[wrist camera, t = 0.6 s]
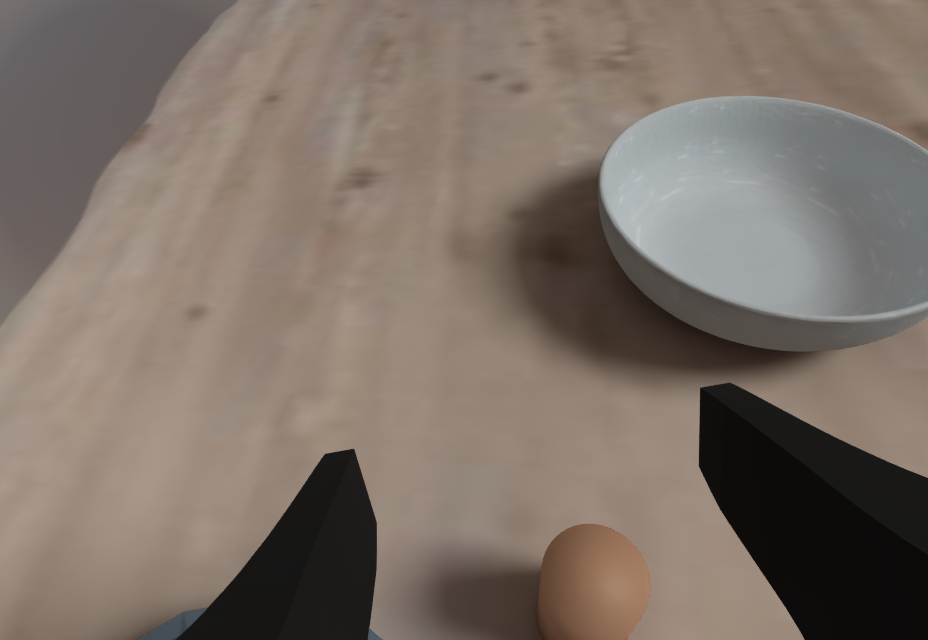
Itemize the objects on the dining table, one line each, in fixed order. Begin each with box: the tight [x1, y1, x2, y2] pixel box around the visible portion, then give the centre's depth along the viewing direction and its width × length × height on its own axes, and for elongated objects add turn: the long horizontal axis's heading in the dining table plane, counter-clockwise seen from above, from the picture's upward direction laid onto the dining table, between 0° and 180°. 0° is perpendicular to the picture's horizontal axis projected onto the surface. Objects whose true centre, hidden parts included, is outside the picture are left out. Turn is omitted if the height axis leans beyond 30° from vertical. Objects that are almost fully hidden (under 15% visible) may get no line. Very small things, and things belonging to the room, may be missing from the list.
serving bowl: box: [598, 96, 928, 352], centre depth 37 cm, size 21×21×7 cm
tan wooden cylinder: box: [537, 524, 650, 640], centre depth 24 cm, size 4×4×6 cm
